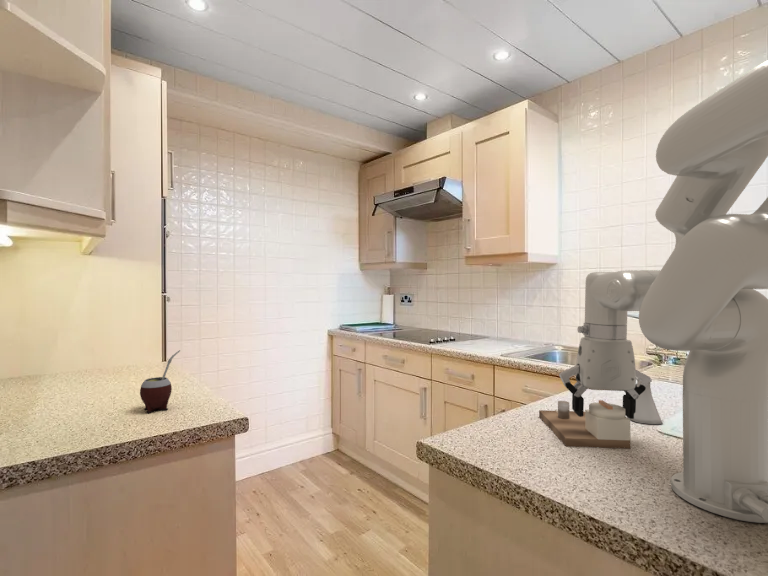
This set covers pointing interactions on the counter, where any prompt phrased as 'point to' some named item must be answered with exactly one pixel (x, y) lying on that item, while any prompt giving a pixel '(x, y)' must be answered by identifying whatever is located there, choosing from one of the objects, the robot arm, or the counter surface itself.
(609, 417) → the knob
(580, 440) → the hub board
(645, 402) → the flask
